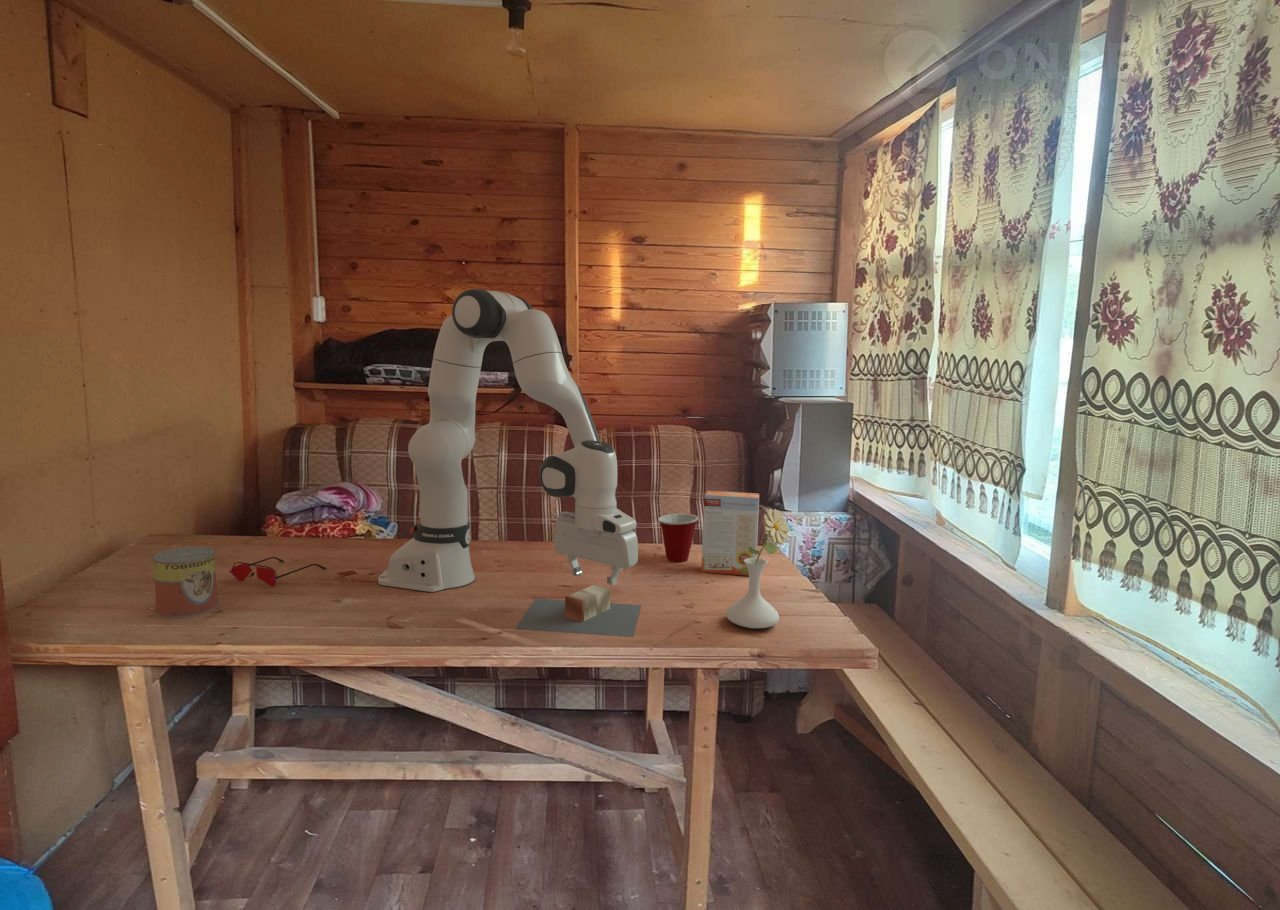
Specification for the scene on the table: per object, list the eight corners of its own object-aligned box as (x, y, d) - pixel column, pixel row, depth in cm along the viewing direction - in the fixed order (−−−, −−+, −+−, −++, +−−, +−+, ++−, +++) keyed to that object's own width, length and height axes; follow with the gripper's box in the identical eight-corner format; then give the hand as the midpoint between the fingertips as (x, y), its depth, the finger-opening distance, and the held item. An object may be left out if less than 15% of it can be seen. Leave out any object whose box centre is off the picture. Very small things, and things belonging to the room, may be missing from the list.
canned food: (176, 622, 152) (172, 565, 151) (144, 611, 158) (140, 555, 156) (229, 606, 162) (226, 552, 160) (198, 595, 168) (195, 543, 166)
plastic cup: (656, 553, 212) (658, 511, 210) (695, 554, 211) (697, 512, 210) (656, 564, 201) (657, 520, 199) (696, 566, 201) (698, 522, 199)
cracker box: (755, 570, 199) (760, 492, 196) (755, 577, 193) (759, 497, 190) (702, 566, 201) (706, 489, 198) (700, 572, 195) (704, 493, 192)
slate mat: (515, 632, 153) (515, 628, 153) (535, 601, 170) (535, 598, 170) (633, 640, 151) (633, 636, 151) (641, 608, 168) (641, 605, 168)
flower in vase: (743, 636, 155) (749, 517, 151) (715, 617, 165) (721, 505, 161) (796, 628, 160) (804, 513, 156) (766, 610, 170) (773, 501, 166)
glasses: (228, 581, 178) (227, 561, 178) (283, 562, 194) (282, 543, 193) (274, 590, 174) (273, 569, 173) (326, 570, 189) (326, 550, 188)
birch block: (609, 608, 166) (581, 622, 157) (593, 604, 168) (564, 617, 160) (610, 588, 165) (582, 601, 157) (593, 584, 167) (565, 596, 159)
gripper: (548, 512, 164) (547, 573, 166) (626, 528, 153) (624, 593, 155) (566, 507, 169) (565, 566, 171) (643, 522, 158) (640, 585, 160)
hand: (594, 579), depth 163 cm, fingers open, 8 cm apart
